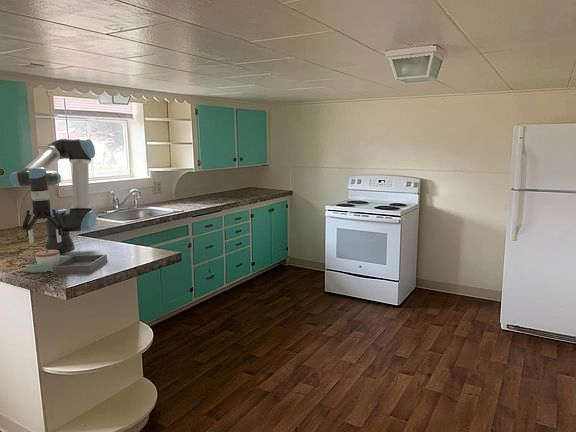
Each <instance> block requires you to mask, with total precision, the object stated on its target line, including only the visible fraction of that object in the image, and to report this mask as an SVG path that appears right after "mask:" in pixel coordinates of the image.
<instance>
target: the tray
mask: <svg viewBox="0 0 576 432" xmlns="http://www.w3.org/2000/svg"><path fill="white" fill-rule="evenodd" d="M107 255H108V254H106V253H105V254H83V255H80V254H79V255H78V254H76V255H72V256H70V258H68V259H66V260H64V261H62V262H61V263H58V264H57V265H55V266H53V272H52V273H53V276H67V275H90V274H92V273H93V272H95V271H96V270H98V269H99V268H102V266H104V265H106V264H107V263H108V256H107Z"/></svg>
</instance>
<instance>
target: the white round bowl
mask: <svg viewBox="0 0 576 432" xmlns="http://www.w3.org/2000/svg"><path fill="white" fill-rule="evenodd" d="M60 253H61V252H59V250H48V249H45V250H41V251H38V252H35V254H34V256H35V260H36V263H37V264H54V265H57V264H59V259H60V256H61V254H60Z"/></svg>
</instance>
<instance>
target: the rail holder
mask: <svg viewBox="0 0 576 432" xmlns="http://www.w3.org/2000/svg"><path fill="white" fill-rule="evenodd" d="M70 257H71V256H70V255H60V259H59V263H61V262H62V261H64V260H66V259H68V258H70ZM59 263H58V264H59ZM53 266H55V265H54V264H26V265H25V271H26V272H30V273H48V272H47V271H51V272H52V273H53ZM26 272H25V273H26ZM51 272H50V273H51Z"/></svg>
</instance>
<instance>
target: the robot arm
mask: <svg viewBox="0 0 576 432" xmlns="http://www.w3.org/2000/svg"><path fill="white" fill-rule="evenodd" d="M95 155H96V149H95V145H94V143H93V141H92V140H91V139H90V138H88V137H73V138H66V137H65V138H59V139H56V140H54V141H53V142H51V143H49V144H47V145H46V146H45V147H44V148H43V149H42V152H41V153H40V154H39V155H38V156H36V157H35V158H34V159H33V160H32V161H31V162H29V163H28V164H27V165H26V166H24V168H23V169H21V171H14V172H12V173H10V176H9V182H10V184H11V185H12V186H13V187H16V188H19V187H20V188H24V187H25V188H26V187H30V195H31V200H32V201H31V204H32V209H28V210H26V216H25V218H24V221H23V223H22V226H21V229H22V230H25V231H26V236H27V238H28V241H29V244H33V243H35V239H34V237H35V236H34V232H33V231H34V230H33V229H32V228H33V226H34V225H35V224H36V222H37V220H41V219H43V220H44V222H45V229H46V235H47V240H46V244H45V250H46V249H48V250H59V252H60V253H65V252H69V251H73V250H74V249H75V248H76V246H75V242H74V241H73V238H72V237H71V233H75V232H76V233H77V232H83V233H84V232H90V231H92V230H93V229H94V228H95V226H96V222H97V214H96V212H95V211H94V210H93V207H92V206H90V199H89V198H90V193H89V192H90V191H89V189H90V188H89V187H90V186H89V183H90V182H89V164H90V163H92V159H93V158H95ZM64 159H65V160H67V159H68V162H69V163H71V177H72V178H71V182H72V183H71V184H72V185H71V187H72V189H71V190H72V192H71V193H72V194H71V195H72V196H71V197H72V205H71V207H70V208H69V211H68V209H67V208H64V209H58V208H53V209H51V201H50V193H49V187H51V186H56V185H58V184H59V183H60V182H61V179H62V175H61V174H60V173H59V172H58V171H56V170H47V169H48V168H49V167H51V165H53V163H56V162H58V161H59V160H64ZM32 215H33V216H32ZM31 218H32V219H31Z"/></svg>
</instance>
